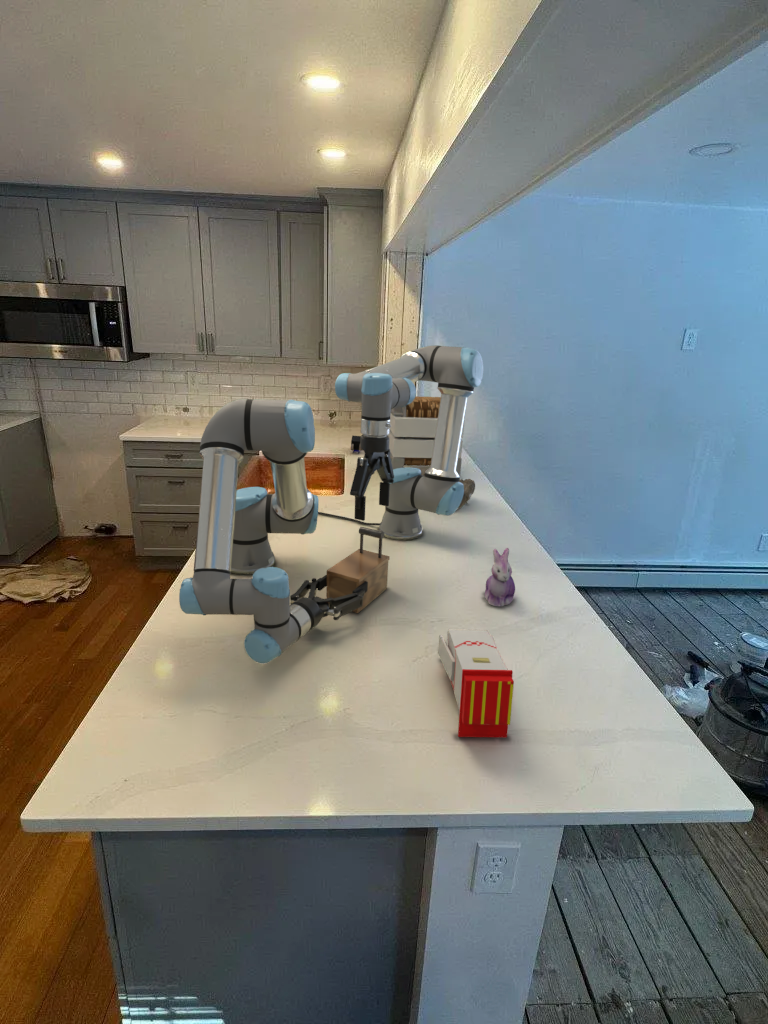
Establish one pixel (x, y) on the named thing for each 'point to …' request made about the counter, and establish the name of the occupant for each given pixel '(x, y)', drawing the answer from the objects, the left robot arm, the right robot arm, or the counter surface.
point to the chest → (345, 587)
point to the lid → (360, 560)
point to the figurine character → (355, 444)
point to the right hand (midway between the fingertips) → (372, 512)
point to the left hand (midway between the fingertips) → (349, 581)
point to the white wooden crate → (415, 433)
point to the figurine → (500, 581)
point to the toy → (478, 682)
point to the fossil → (467, 490)
